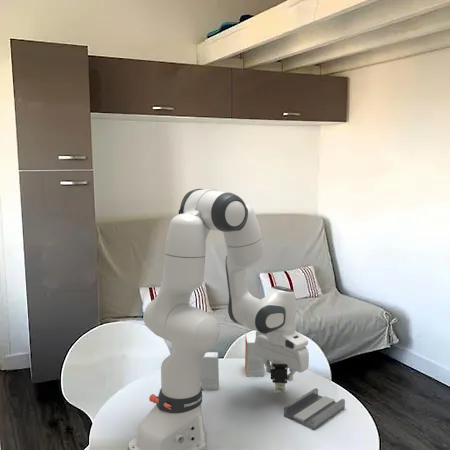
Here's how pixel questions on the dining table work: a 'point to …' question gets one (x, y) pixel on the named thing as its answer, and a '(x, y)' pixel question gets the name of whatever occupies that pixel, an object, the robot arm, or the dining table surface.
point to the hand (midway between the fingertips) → (279, 376)
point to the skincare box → (210, 371)
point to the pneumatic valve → (279, 375)
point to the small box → (252, 358)
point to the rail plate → (313, 409)
